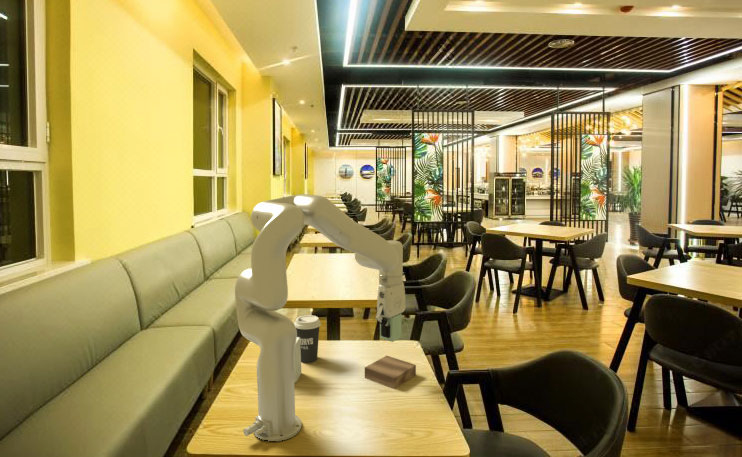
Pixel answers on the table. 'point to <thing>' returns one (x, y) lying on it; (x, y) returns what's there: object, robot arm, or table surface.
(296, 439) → the table surface
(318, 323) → the coffee cup
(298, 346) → the supplement box
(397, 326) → the sage block
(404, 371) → the block
